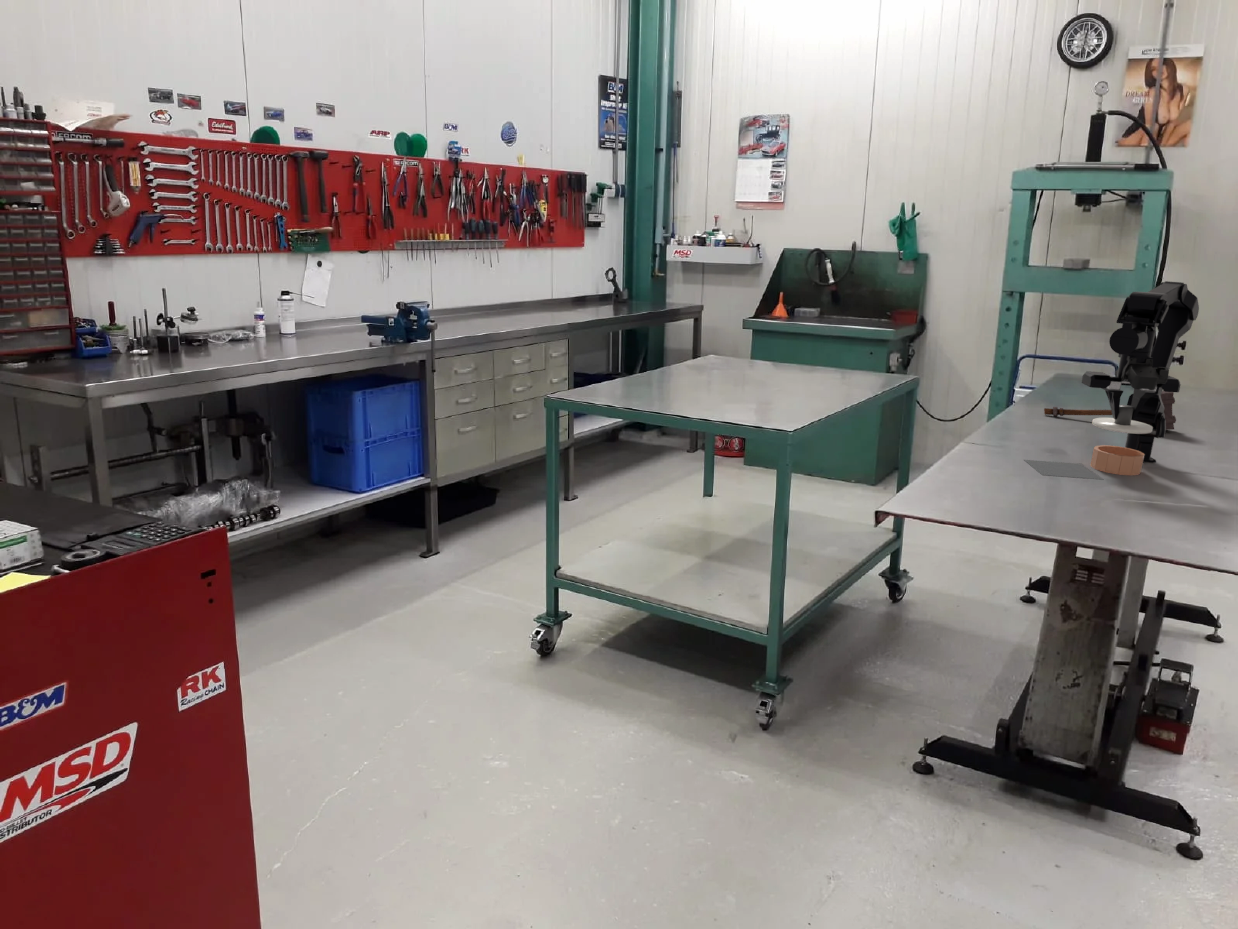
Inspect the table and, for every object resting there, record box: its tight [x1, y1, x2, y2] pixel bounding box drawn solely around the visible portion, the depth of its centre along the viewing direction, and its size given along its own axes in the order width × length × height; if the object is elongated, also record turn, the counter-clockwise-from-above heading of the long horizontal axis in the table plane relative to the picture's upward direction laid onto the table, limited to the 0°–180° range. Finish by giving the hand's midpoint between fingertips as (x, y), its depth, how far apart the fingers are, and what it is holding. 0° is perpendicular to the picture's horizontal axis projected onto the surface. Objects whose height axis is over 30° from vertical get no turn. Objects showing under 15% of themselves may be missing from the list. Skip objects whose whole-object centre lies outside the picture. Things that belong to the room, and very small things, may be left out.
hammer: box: [1043, 390, 1177, 431], centre depth 257 cm, size 7×33×10 cm, turn 61°
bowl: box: [1089, 444, 1145, 476], centre depth 206 cm, size 10×10×4 cm
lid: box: [1091, 404, 1153, 434], centre depth 204 cm, size 12×12×5 cm
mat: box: [1023, 459, 1105, 481], centre depth 204 cm, size 13×13×1 cm
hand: (1123, 419), depth 204 cm, fingers closed on lid, 3 cm apart
